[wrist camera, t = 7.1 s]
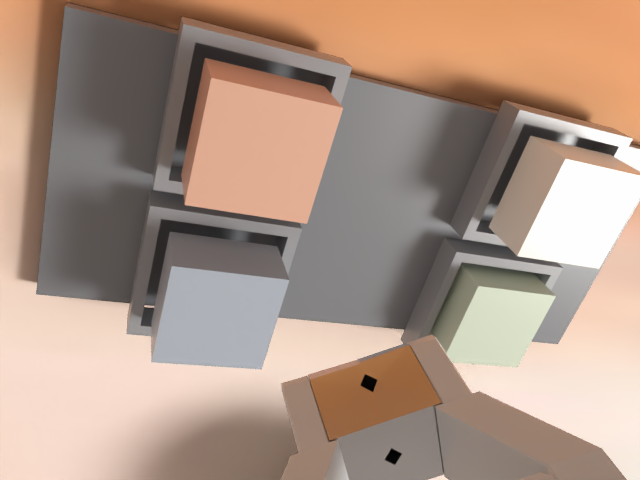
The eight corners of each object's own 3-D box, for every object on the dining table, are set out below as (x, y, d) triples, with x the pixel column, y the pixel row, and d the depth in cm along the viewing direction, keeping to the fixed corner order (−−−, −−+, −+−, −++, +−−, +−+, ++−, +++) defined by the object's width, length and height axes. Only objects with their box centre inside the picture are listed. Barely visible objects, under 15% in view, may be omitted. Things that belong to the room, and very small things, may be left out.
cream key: (565, 240, 29) (599, 268, 27) (488, 226, 28) (517, 256, 26) (610, 154, 27) (650, 178, 25) (530, 135, 26) (565, 158, 24)
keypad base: (545, 344, 36) (566, 368, 34) (37, 296, 27) (29, 326, 25) (660, 137, 31) (693, 154, 29) (69, -17, 21) (61, -8, 19)
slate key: (252, 330, 28) (261, 369, 25) (151, 322, 26) (151, 362, 24) (277, 246, 26) (289, 279, 23) (169, 231, 24) (171, 265, 22)
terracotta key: (292, 193, 25) (307, 224, 22) (181, 174, 23) (184, 205, 21) (324, 86, 23) (343, 108, 20) (204, 57, 21) (211, 77, 19)
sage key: (493, 335, 33) (517, 367, 31) (422, 329, 32) (442, 361, 30) (528, 267, 32) (556, 296, 29) (454, 256, 30) (478, 286, 28)
